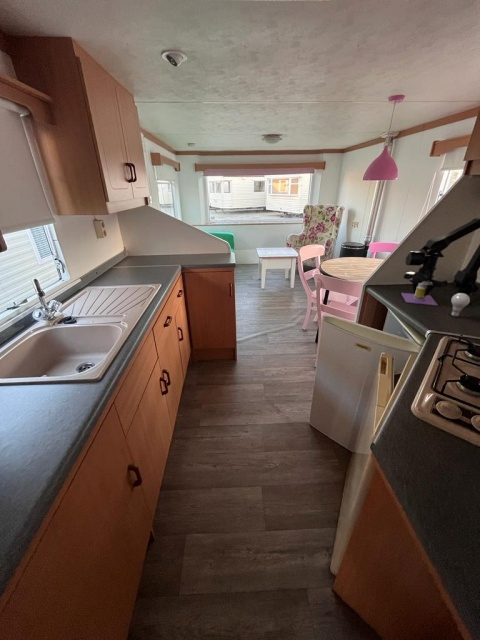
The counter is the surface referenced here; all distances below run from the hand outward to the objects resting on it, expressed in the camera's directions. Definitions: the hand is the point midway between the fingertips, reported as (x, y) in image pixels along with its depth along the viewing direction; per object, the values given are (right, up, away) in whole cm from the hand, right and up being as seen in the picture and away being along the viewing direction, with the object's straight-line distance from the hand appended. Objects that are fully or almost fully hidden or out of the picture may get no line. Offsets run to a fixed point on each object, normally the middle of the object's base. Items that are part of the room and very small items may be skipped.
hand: (419, 295), depth 139 cm
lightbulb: (+4, -12, -18) cm, 21 cm away
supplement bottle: (0, -2, +1) cm, 2 cm away
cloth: (0, -2, +1) cm, 2 cm away
